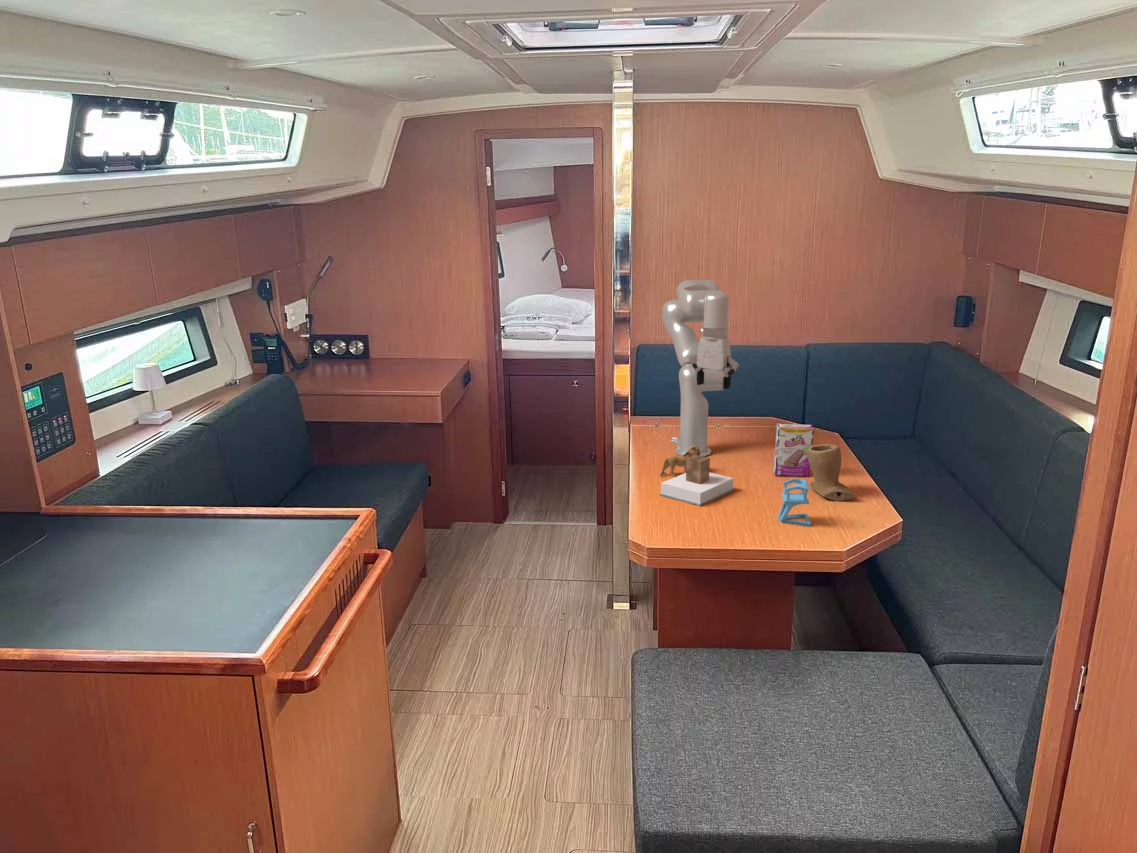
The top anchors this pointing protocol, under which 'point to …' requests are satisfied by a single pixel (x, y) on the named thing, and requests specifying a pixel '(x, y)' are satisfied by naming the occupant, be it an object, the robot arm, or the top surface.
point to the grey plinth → (696, 489)
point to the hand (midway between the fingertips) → (713, 386)
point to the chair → (794, 502)
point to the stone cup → (827, 472)
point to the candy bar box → (792, 450)
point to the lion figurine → (679, 460)
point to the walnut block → (697, 469)
